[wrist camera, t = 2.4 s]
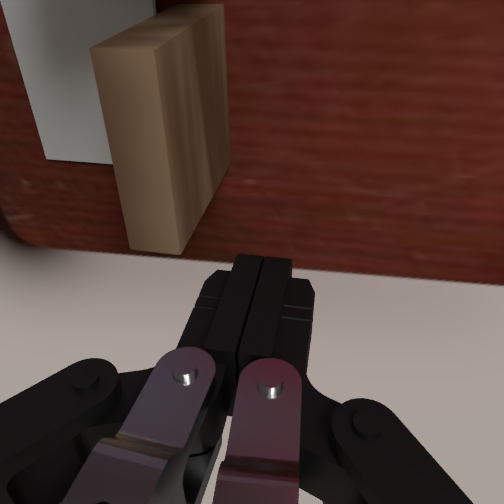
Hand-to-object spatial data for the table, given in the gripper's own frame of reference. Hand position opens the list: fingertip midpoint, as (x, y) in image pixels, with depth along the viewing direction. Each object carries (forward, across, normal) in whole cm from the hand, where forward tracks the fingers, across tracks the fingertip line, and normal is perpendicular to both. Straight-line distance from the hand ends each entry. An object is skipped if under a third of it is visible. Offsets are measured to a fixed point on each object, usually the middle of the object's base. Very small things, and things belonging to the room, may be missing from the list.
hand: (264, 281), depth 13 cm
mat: (+17, +13, 0) cm, 21 cm away
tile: (+17, +6, 0) cm, 18 cm away
